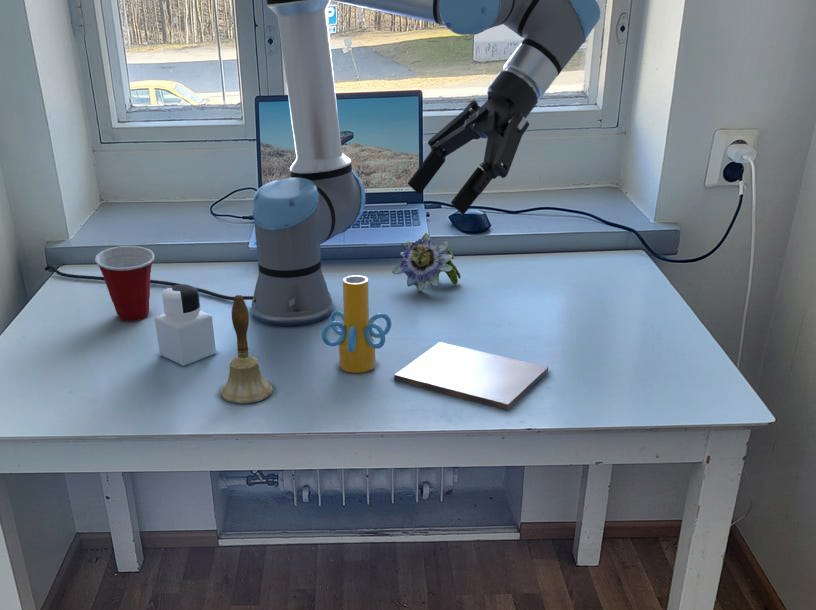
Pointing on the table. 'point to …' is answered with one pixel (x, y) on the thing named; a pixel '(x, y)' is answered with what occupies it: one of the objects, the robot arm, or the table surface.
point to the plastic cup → (127, 279)
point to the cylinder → (356, 328)
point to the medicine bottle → (184, 326)
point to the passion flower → (426, 263)
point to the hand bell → (244, 364)
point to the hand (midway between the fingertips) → (434, 198)
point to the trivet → (472, 375)
